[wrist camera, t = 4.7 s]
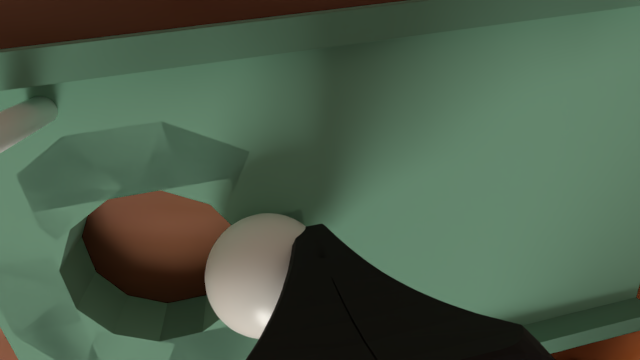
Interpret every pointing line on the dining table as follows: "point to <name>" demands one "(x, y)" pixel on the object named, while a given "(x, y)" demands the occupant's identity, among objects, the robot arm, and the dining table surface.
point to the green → (339, 163)
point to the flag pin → (25, 120)
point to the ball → (250, 270)
